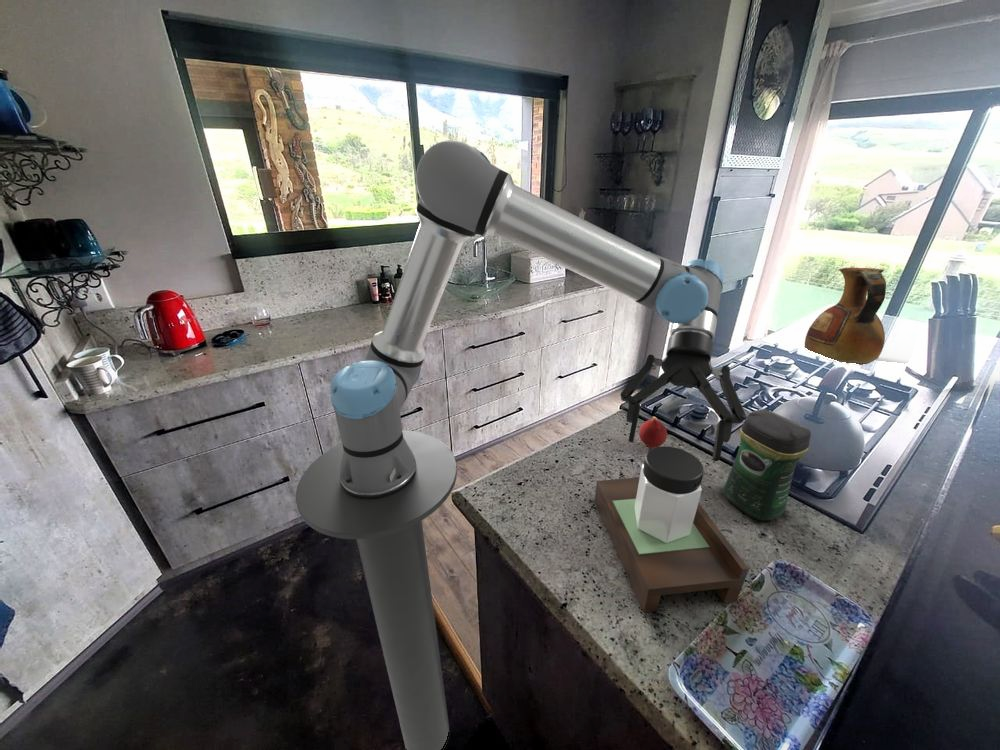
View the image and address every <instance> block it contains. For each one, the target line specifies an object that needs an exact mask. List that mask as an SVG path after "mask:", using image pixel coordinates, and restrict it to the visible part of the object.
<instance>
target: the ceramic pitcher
mask: <svg viewBox="0 0 1000 750" xmlns="http://www.w3.org/2000/svg"><path fill="white" fill-rule="evenodd" d="M838 271H839V272H840V273H841V274H842V276H843V280H844V286H843V290H842V291H843V292H842V295H841V297H840V299H839V301H838V302H837V303H836V304H835V305H833V306H832V305H831V306H830V307H828V308H827V309H825V310H824V311H822V312H821V313H820V314H819V315H818V316H817V317H816V318H815V319H814V321H813V322H812V323H811V325H810V326H809V328H808V330H807V332H806V335H805V338H804V349H805V348H807V349H808V350H810V351H813V352H815V353H818V354H821V355H823V356H825V357H828V358H831V359H834V360H837V361H839V362H838V363H842V362H846V363H845V364H849V363H856V364H859V365H858V366H864V365H863V364H865V365H868V364H870V363H873V362H875V361H876V360H878V358H879V357H880V355H881V354H882V352H883V349H884V347H885V342H886V334H885V333H886V332H885V329H884V325H883V322H882V320H881V319H880V317H879V316H878V315H877V313H878V312H879V310H880V309H881V307H882V306H883V303H884V302H885V298H886V291H887V282H886V279H885V277H884V275H883V273H884V271H885V270H884V268H883V269H882V268H875V267H874V268H873V267H855V266H854V267H853V266H852V267H842V268H839V269H838Z"/></svg>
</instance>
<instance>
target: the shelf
mask: <svg viewBox="0 0 1000 750" xmlns="http://www.w3.org/2000/svg"><path fill="white" fill-rule="evenodd" d="M639 479H640V476H639V477H627V478H614V479H604V480H603V479H602V480H596V486H595V495H594V504H595V506H596V507H597V511H598V513H599V515H600V517H601V519H602V521H603V524H604V526H605V528H606V530H607V533H608V535H609V537H610V540H611V542H612V544H613V546H614V549H615V551H616V553H617V556H618V558H619V560H620V563H621V564H622V566H623V569H624V572H625V573H626V577H627V578H628V581H629V583H630V585H631V587H632V590H633V592H634V594H635V596H636V598H637V601H638V603H639V606H640V607H641V610H642V612H643V613H653V612H657V611H658V608H659V605H660V600H661V596H666V595H675V594H684V593H685V594H687V593H693V592H703V591H711V590H714V591H715V592H716V594H717V595H718V597H719V598H720V600H721V602H722V603H723V604H729V603H736V602H738V599H739V596H740V593H741V591H742V588H743V585H744V583H745V581H746V578H747V576H748V573H749V570H750V568H749V567H748V565H747V564H746V563H745V561H744V560H743V559H742V557H741V556H740V555H739V554H738V552H737V551H736V550H735V548H734V547H733V546H732V544H731V543H730V541H728V539H727V538H726V536H725V535H724V534H723V533H722V531H721V530H720V529H719V527H718V526H717V524H716V523H715V522H714V521H713V519H712V518H711V517H710V515H709V514H708V513H707V512H706V510H705V509H704V508H703V506H702V505H701V504H700V503H699V502H698V506H697V510H696V514H695V517H694V521H693V525H692V528H691V532H690V535H688V536H685V537H682V538H679V539H676V540H674V541H671V542H668V543H665V542H663V541H661V540H659V539H657V538H655V537H653V536H651V535H649V534H647V533H645V532H643V531H642V530H640V529H638V527H637V521H636V515H635V509H634V507H635V501H636V496H637V490H638V484H639Z"/></svg>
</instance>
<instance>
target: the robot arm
mask: <svg viewBox="0 0 1000 750" xmlns="http://www.w3.org/2000/svg"><path fill="white" fill-rule="evenodd" d="M415 182H416V183H415V184H416V190H417V193H418V196H419V199H418V201H417V205H416V207H415V214H416V215H417V218H418V220H419V225H418V229H417V231H416V234H415V237H414V240H413V244H412V246H411V249H410V252H409V254H408V258H407V260H406V263H405V266H404V269H403V272H402V275H401V278H400V281H399V284H398V286H397V289H396V293H395V295H394V298H393V301H392V304H391V306H390V309H389V312H388V316H387V318H386V321H385V324H384V327H383V330H382V331H378V332H376V333H375V334H374V335H373V336H372V338H371V341H370V344H369V347H368V350H367V353H366V357H365V358H364V360H362V361H358V362H354V363H352V364H351V366H349V365H348V366H345V367H343V368H342V369H340V370H339V371H338V372H336V373H335V375H334V376H333V378H332V380H331V383H330V393H331V394H330V395H331V396H330V400H331V405H332V407H333V410H334V415H335V419H336V425H337V427H338V432H339V436H340V441H341V443H342V445H343V456H342V462H341V468H340V481H341V485H342V488H343V489H344V491H345V492H346V493H348V494H349V495H351V496H353V497H356V498H361V499H377V498H382V497H386V496H389V495H392V494H394V493H396V492H398V491H400V490H401V489H403V488H404V487H406V486H407V485H408V484H409V483H410V482H411V481H412V479H413V478H414V476H415V474H416V469H417V468H416V460H415V457H414V455H413V453H412V451H411V449H410V448H409V446H408V444H407V442H406V441H405V439H404V437H403V432H402V430H403V425H402V418H401V410H402V408H403V406H404V404H405V402H406V400H407V398H408V396H409V394H410V393H411V391H412V389H413V387H414V385H415V384H416V383H417V382H418V380H419V378H420V375H421V368H422V365H423V363H424V360H425V358H426V356H427V355H426V353H427V352H426V350H425V347H424V346H423V345H424V341H425V339H426V337H427V334H428V332H429V329H430V326H431V324H432V322H433V319H434V317H435V314H436V311H437V310H438V306H439V304H440V303H441V299H442V297H443V294H444V292H445V290H446V287H447V285H448V282H449V280H450V277H451V274H452V272H453V269H454V267H455V265H456V262H457V259H458V256H459V254H460V252H461V250H462V247H463V245H464V243H465V242H467V241H470V240H472V239H474V238H475V237H476V234H477V235H479V236H481V237H483V238H487V237H489V236H491V235H494V236H497V237H500V239H504V240H505V241H508V242H510V243H512V244H514V245H516V246H518V247H520V248H522V249H525V250H526V251H529V252H530V253H533V254H535V255H537V256H539V257H542V258H544V259H546V260H548V261H549V262H552V263H555V264H556V265H558V266H561V267H562V268H564V269H566V270H569V271H571V272H573V273H575V274H578V275H580V276H581V277H584V278H586V279H588V280H590V281H592V282H594V283H596V284H598V285H600V286H603V287H605V288H607V289H609V290H611V291H613V292H615V293H616V294H617V293H618V294H620V295H621V296H624V297H626V298H628V299H630V300H632V301H634V302H636V303H638V304H639V305H642V306H643V307H645V308H648V309H649V310H652V311H654V312H656V314H657V315H658V316H659V317H660V318H662V319H664V320H666V321H667V322H670V323H671V325H670V331H669V337H668V342H667V348H666V353H665V357H664V358H663V359H661V358H657V357H655V355H653V354H648V355H647V356H646V359H645V363H644V365H643V366H642V367H641V368H640V369H639V371H638V372H637V374H636V375H635V376H634V377H633V378H632V379H631V380H630V381H629V383H627V385H626V386H625V388H624V389H623V390H622V391H621V392H620V400H621V401H622V402H625V403H626V404H628V408H627V413H626V417H625V419H626V422H627V423H631V426H630V431H629V436H628V442H629V443H634V441H635V435H636V432H637V427H638V421H639V415H640V411H641V404H640V403H642V402H643V401H645V400H647V398H649V397H650V396H651V395H653V394H655V393H656V392H658V390H660V389H662V388H663V387H665V386H667V385H668V384H669V383H671V384H672V385H673V386H675V387H685V388H686V389H693V388H696V389H697V390H698V392H700V393H701V394H702V395H703V397H704V398H705V400H706V401H707V402H708V404H709V405H710V407H711V408H712V409H713V411H714V412H715V414H716V415H717V416H718V417H719V421H718V422H717V423H716V431H715V437H714V445H713V452H712V459H711V461H713V462H718V461H720V460H721V456H722V448H723V443H727V444H728V442H729V441H730V440H731V438H732V430H733V424H743V423H744V421H745V419H746V417H747V415H746V411H745V410H744V407H743V405H742V403H741V400H740V398H739V395H738V393H737V390H736V389H735V386H734V384H733V381H732V379H731V368H730V366H728V365H723V366H721V367H717V366H712V362H711V361H712V354H713V348H714V339H715V336H716V329H717V322H718V315H719V308H720V302H721V297H722V293H723V289H724V285H723V284H724V269H723V267H722V266H721V265H720V264H719V263H718V262H716V261H715V260H712V259H705V260H704V259H702V258H697V259H692V260H690V261H688V262H687V263H685V265H683V264H681V263H678V262H675V261H673V260H670V259H669V258H666V257H664V256H661V255H658V254H655V253H653V252H651V250H648V251H647V250H646V249H643V248H641V247H639V246H637V245H636V244H633V243H631V242H629V241H627V240H626V239H623V238H621V237H620V236H617V235H615V234H613V233H611V232H609V231H607V230H605V229H603V228H601V227H599V226H597V225H595V224H593V223H591V222H589V221H587V220H586V219H583V218H581V217H579V216H577V215H575V214H573V213H572V212H569V211H568V210H566V209H564V208H561V207H559V206H557V205H555V204H553V203H551V202H550V201H548V200H545V199H544V198H542V197H540V196H538V195H536V194H534V193H532V192H530V191H527V190H526V189H524V188H522V187H520V186H518V185H516V184H515V183H514V179H513V177H512V174H510V173H508V172H507V171H505V170H503V169H501V168H499V167H497V166H495V165H494V164H492V162H491V161H490V160H489V158H488V157H487V155H485V153H484V152H482V151H480V150H479V149H477V148H476V147H475V146H472V145H470V144H468V143H465V142H464V141H461V140H455V139H454V140H453V139H448V140H442V141H440V142H437V143H435V144H433V145H432V146H430V147H429V148H428V149H427V150H426V151H425V152H424V154H423V155H422V156H421V158H420V160H419V163H418V165H417V167H416V173H415ZM658 367H661V369H662V371H663V372H662V373H661V374H660V375H659V377H657V378H656V379H654V380H653V381H652V382H649V384H647V385H646V386H645V387H643V388H641V390H639V391H637V392H636V393H635V394H634V392H635V391H636V390H637V389H638V388H639V387H640V386H641V384H642V383H643V382H644V381H645V380H646V378H647V377H648V376H649V375H650V374H651V371H654V370H657V368H658ZM711 375H713V376H714V378H715V380H717V381H719V386H720V389H721V390H722V392H723V394H724V397H725V400H726V402H727V405H728V407H729V409H728V407H727V406H726V405H725V403H724V402H723V400H722V399H721V397H720V396H719V395H718V394H717V393H716V391H715V389H714V388H713V387H712V386H711V383H710V381H709V380H708V379H707V378H709V377H710V376H711Z"/></svg>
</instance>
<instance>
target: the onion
mask: <svg viewBox="0 0 1000 750" xmlns="http://www.w3.org/2000/svg"><path fill="white" fill-rule="evenodd" d="M638 436H639V438H640V441H641V442H642V443H643V444H644V445H645V446H646V447H647V448H649V449H653V448H656V447H662V445H664V443H666V440H667V439H668V438H667V437H668V431H667V428H666V426H665V425H664V424H663V422H661V420H659V419H658V418H657V417H656V416H652V418H650V419H648V420H645V421H644V422H643V423H642V424H641V426H640V427H639V431H638Z"/></svg>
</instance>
